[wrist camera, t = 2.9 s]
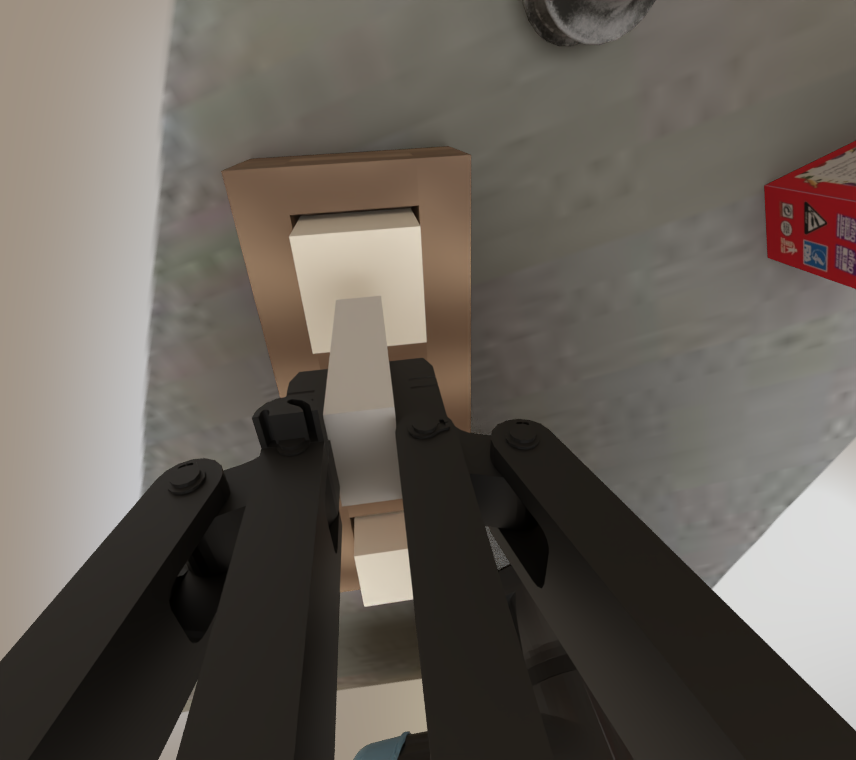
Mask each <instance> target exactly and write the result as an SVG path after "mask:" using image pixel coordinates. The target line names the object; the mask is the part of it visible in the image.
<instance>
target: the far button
mask: <svg viewBox="0 0 856 760" xmlns="http://www.w3.org/2000/svg"><path fill="white" fill-rule="evenodd" d="M354 558H355V563H356V568H357V573H358V578H359V583H360V588H361V593H362V598H363V603H364V607H366V606H373V605H379V604H386V603H392V602H399V601H406V600H412V599H413V592H412V583H411V574H410V565H409V555H408V546H407V537H406V528H405V519H404V510H403V511H395V512H388V513H381V514H373V515H366V516H358V517H355V519H354Z"/></svg>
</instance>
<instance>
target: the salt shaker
mask: <svg viewBox="0 0 856 760" xmlns="http://www.w3.org/2000/svg"><path fill="white" fill-rule="evenodd" d="M654 2H655V0H523V4H524V8H525V11H526V14H527V17H528V20H529V22H530V23H531V25H532V26H533V28H534V29H535V31H536V32H537V33H538V34H539V35H540V36H541V37H542V38H544V39H545V40H546V41H548V42H550V43H553V44H555V45H558V46H573V45H576V44H579V43H583V44H593V45H601V44H604V43H607V42H611V41H614V40H617V39H619V38H620V37H622V36H623V35H625V34H626V33H628V32H629V31H631V30H632V29H633V28H634V27H635V26H636V25H637V24H638V23H639V22H640V21H641V20H642V19H643V18H644V17H645V16H646V15H647V13H648V11H649V10H650V8H651V7H652V5H653V4H654Z"/></svg>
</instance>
